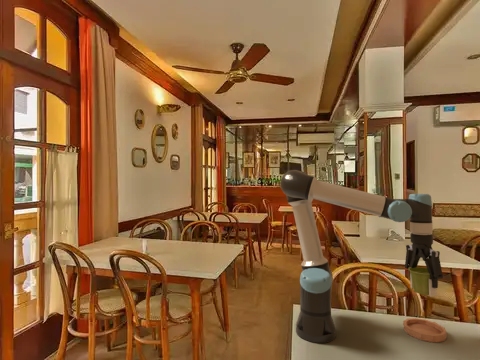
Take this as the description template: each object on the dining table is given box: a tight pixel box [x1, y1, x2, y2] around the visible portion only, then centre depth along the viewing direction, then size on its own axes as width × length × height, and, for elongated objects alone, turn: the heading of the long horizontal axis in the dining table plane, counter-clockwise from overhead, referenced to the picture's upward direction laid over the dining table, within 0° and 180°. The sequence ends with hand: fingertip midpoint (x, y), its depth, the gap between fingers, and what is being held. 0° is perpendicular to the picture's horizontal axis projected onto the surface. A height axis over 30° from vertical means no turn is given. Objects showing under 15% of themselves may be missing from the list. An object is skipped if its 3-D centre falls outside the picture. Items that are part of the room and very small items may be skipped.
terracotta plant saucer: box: [402, 317, 448, 343], centre depth 114 cm, size 14×14×2 cm
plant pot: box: [407, 266, 434, 296], centre depth 114 cm, size 9×9×9 cm
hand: (423, 291), depth 114 cm, fingers closed on plant pot, 8 cm apart
